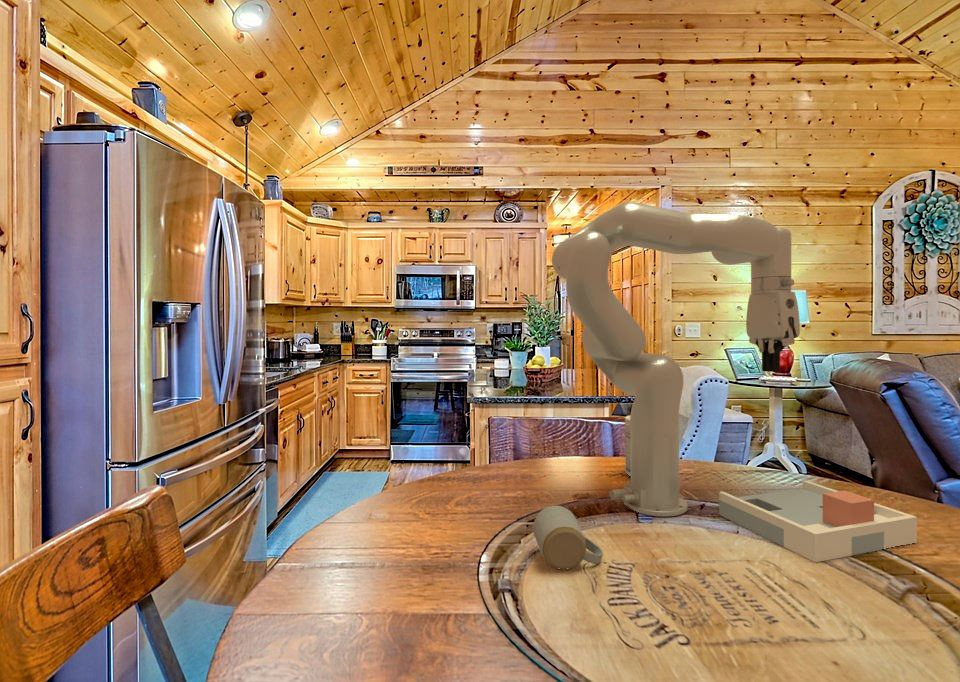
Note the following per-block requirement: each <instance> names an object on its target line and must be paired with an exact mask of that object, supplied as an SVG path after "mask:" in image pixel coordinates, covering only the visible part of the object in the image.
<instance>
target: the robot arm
mask: <svg viewBox="0 0 960 682" xmlns="http://www.w3.org/2000/svg"><path fill="white" fill-rule="evenodd" d="M624 247H636V248H641V249H648V250H653V251H658V252H661V253H668V254H673V255H693V254H701V253H711V255H712V256H713V258H714V259H715V261H717V262H719V263H721V264H723V265H729V266H731V265H732V266H733V265H739V264H747V263H749V264H750V294H749V296H748V303H747V309H746V320H745V322H746V324H745V325H746V329H745V330H746V336H748V343H750V344H752V345H754V346H757V347H758V351H759V353H760V354H761V371H763V372H767V373H773V372H780V370H781V354H782V353H783V352H784V349H785V348H786V347H787V346H791V345H794V344H795V342H796V341H795V339H797V338H799V337H800V333H801V330H800V329H801V326H800V325H801V324H800V323H801V322H800V321H801V320H800V312H799V304H798V300H797V295H796V292H795V291H792V286H794V285H795V279H792V232H791V231H790V230H789V229H788V228H785V227H776V226H775V225H774V224H773V223H771V222H770V221H767V220H764V219H760V218H756V217H751V216H746V215H743V214H742V215H741V214H729V213H704V212H685V211H679V210H674V209H670V208H665V207H661V206H660V207H659V206H655V205H650V204H646V203H641V202H635V201H631V202H630V201H627V202H623V203H620V204H618V205H616V206H615V207H611V209H609V210H607V211H605V212H603V213H601V214H600V215H599V216H597V217H596V218H595V219H593V220H592V221H590V222H589V223H588V224H586V225H585V226H583V227H582V228H580V230H577V231H576V232H574V233H573V234H572V235H571V236H568V237H567V238H566V239H565V240H563V241H562V242H559V244H558V245H557V246H556V247H555V249H554V250H553V253H552V257H551V265H552V268H553V270H554V271H555V272H556V274H557V275H558V276H559V277H562V278H563V279H566V281H565V283H566V284H565V285H566V286H565V289H566V291H565V292H566V298H567V301H568V304H569V306H570V308H571V310H572V312H573V313H574V315H575V316H576V318H577V319H578V320H579V322H580V323H581V325H583V328H582V329H583V330H582V333H581V341H582V342H581V343H582V346H583V348H584V350H585V352H586V355H588V356H589V358H590V359H591V360H592V361H593V363H594V364H595V365H596V366H597V367H598V369H599V370H600V371H601V372H602V373H603V374H604V376H606V378H607V379H608V380H609V381H610V383H611V384H613V386H614V387H615V388H617V389H618V390H619V391H620V392H623V393H624V394H626V395H627V394H628V395H630V396H634V400H633V403H632V407H631V410H630V414H629V415H630V457H631V477H630V481H628V482H625V486H624V487H623V488H621V489H618V488H617V489H611V490H609V497H610V499H611V500H612V501H613V500H614V501H615V500H622V503H623V502H624V503H625V504H626V505H627V506H628V507H629V508H631V509H632V510H634V511H633V512H635V511H636V512H635V513H638V512H639V513H638V514H641V513H642V515H646V516H651V517H652V516H653V517H654V516H655V517H666V518H667V517H675V516H680V515H683V514H685V513H686V512H687V511H688V509H689V508H688V502H687V501H686V500H685V499H684V498H683V497H681V496H680V431H679V429H680V427H679V425H680V421H679V419H680V405H681V398H682V394H683V388H684V373H683V371H682V368H681V367H680V365H679V364H678V363H677V362H676V361H675V360H674V359H672V358H671V357H669V356H666V355H663V354H659V353H651V352H649V353H648V352H644V351H645V349H646V346H647V337H646V334H645V331H644V330H643V328H642V327H641V326H640V324H639V323H638V322H637V320H636V319H635V318H634V317H633V316H632V314H631V313H630V312H629V311H628V310H627V308H626V307H625V306H624V305H623V304H622V302H620V300H619V299H618V297H617V296H616V295H615V293H614V292H613V290H612V288H611V286H610V283H609V277H608V276H609V268H610V262H611V257H612V254H613V253H614V252H615V251H617V250H618V249H619V250H620V249H621V248H624ZM624 503H623V504H624ZM629 508H628V509H629ZM632 510H631V511H632Z"/></svg>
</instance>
